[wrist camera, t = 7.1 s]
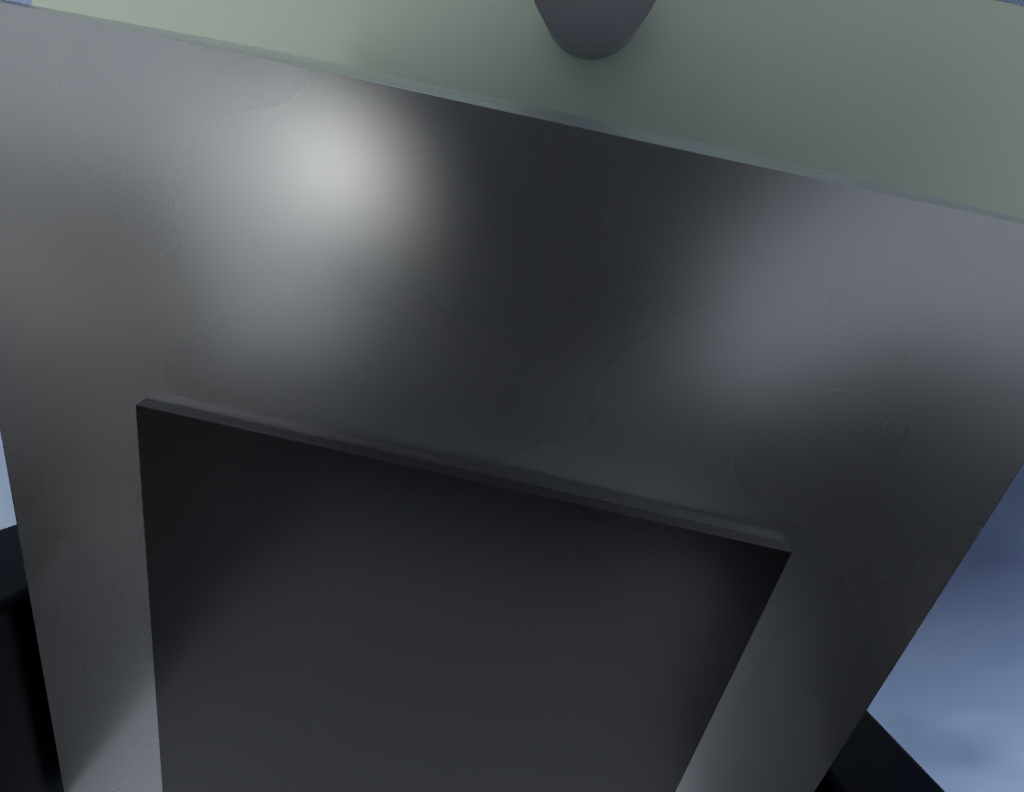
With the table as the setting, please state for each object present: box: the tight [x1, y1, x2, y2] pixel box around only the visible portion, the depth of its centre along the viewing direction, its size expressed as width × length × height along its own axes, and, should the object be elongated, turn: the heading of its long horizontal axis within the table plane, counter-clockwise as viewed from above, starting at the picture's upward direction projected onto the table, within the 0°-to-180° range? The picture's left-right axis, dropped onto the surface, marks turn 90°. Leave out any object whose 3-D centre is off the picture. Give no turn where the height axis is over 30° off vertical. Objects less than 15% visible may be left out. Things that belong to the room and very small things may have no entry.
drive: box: [0, 0, 1024, 792], centre depth 7 cm, size 10×6×4 cm, turn 169°
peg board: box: [31, 0, 1024, 219], centre depth 10 cm, size 14×14×3 cm
